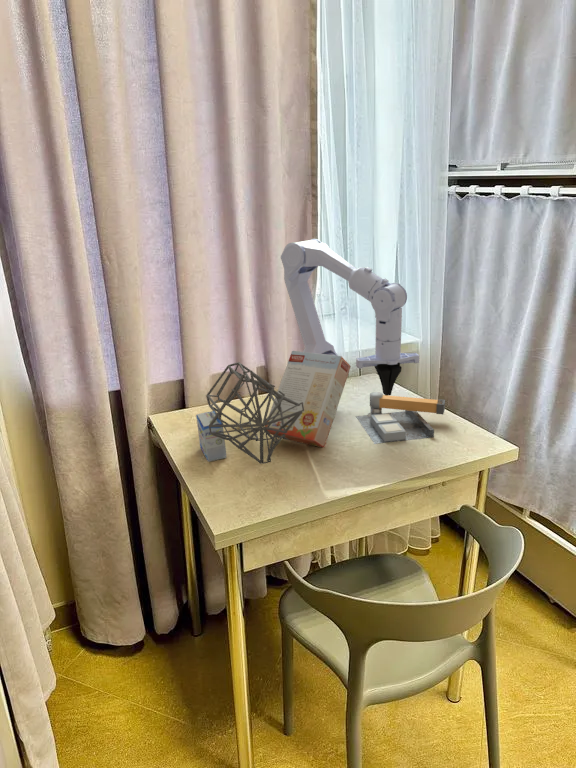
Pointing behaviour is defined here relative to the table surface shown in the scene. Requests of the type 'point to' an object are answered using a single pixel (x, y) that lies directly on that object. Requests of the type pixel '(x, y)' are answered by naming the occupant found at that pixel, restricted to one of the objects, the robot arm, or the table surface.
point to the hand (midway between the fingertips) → (386, 393)
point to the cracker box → (311, 396)
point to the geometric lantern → (257, 419)
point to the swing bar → (406, 403)
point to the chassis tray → (407, 419)
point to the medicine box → (210, 437)
